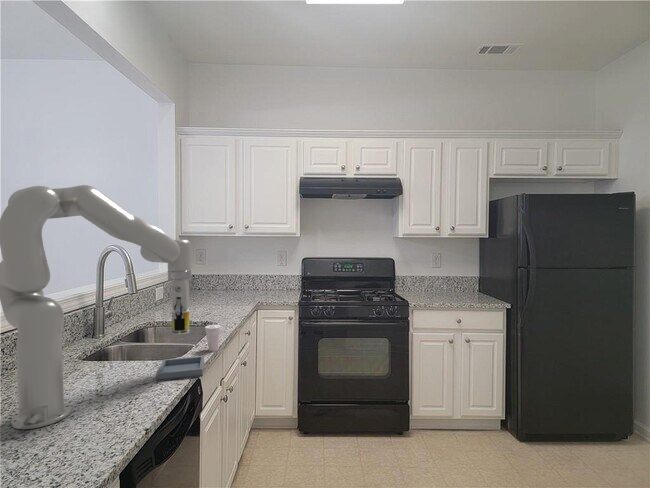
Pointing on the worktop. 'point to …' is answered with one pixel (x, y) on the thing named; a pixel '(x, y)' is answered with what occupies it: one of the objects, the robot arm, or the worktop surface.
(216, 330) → the smoothie
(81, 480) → the worktop surface
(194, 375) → the slate tray
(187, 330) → the supplement bottle
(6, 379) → the worktop surface
